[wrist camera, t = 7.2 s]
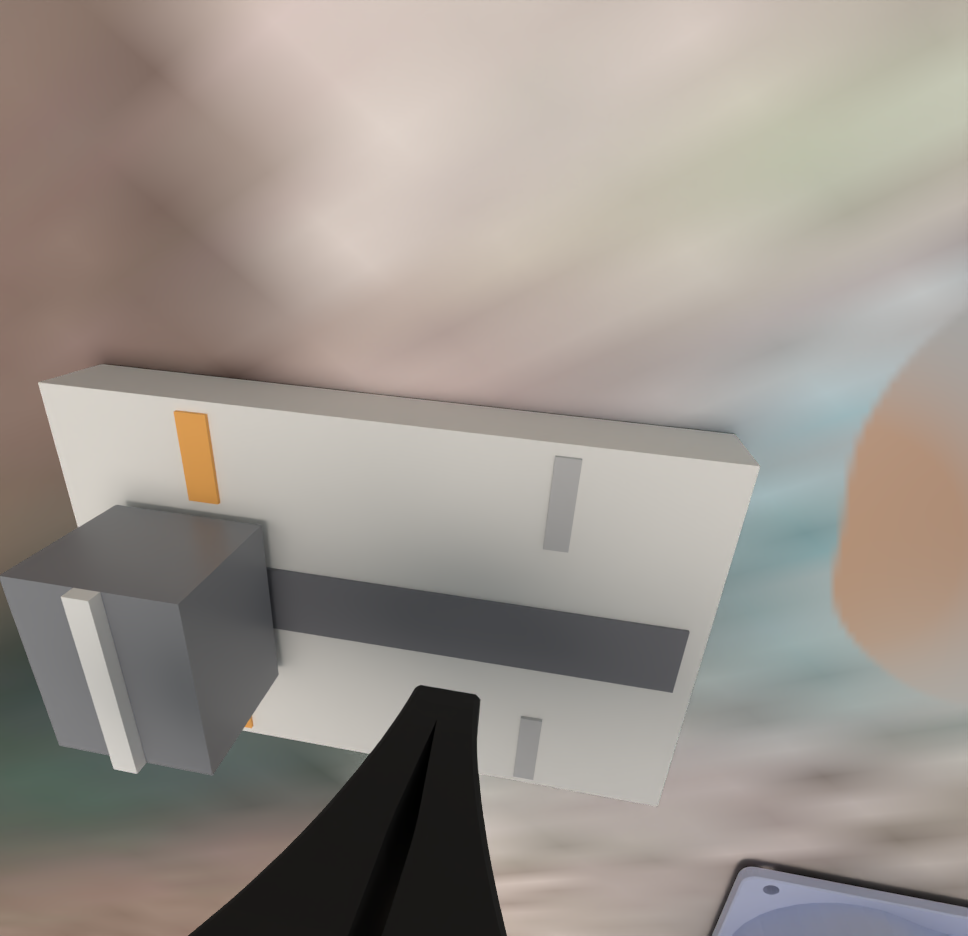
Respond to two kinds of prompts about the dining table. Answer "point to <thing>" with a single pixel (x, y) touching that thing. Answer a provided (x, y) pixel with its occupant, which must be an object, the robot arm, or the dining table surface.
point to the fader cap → (148, 635)
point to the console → (442, 556)
